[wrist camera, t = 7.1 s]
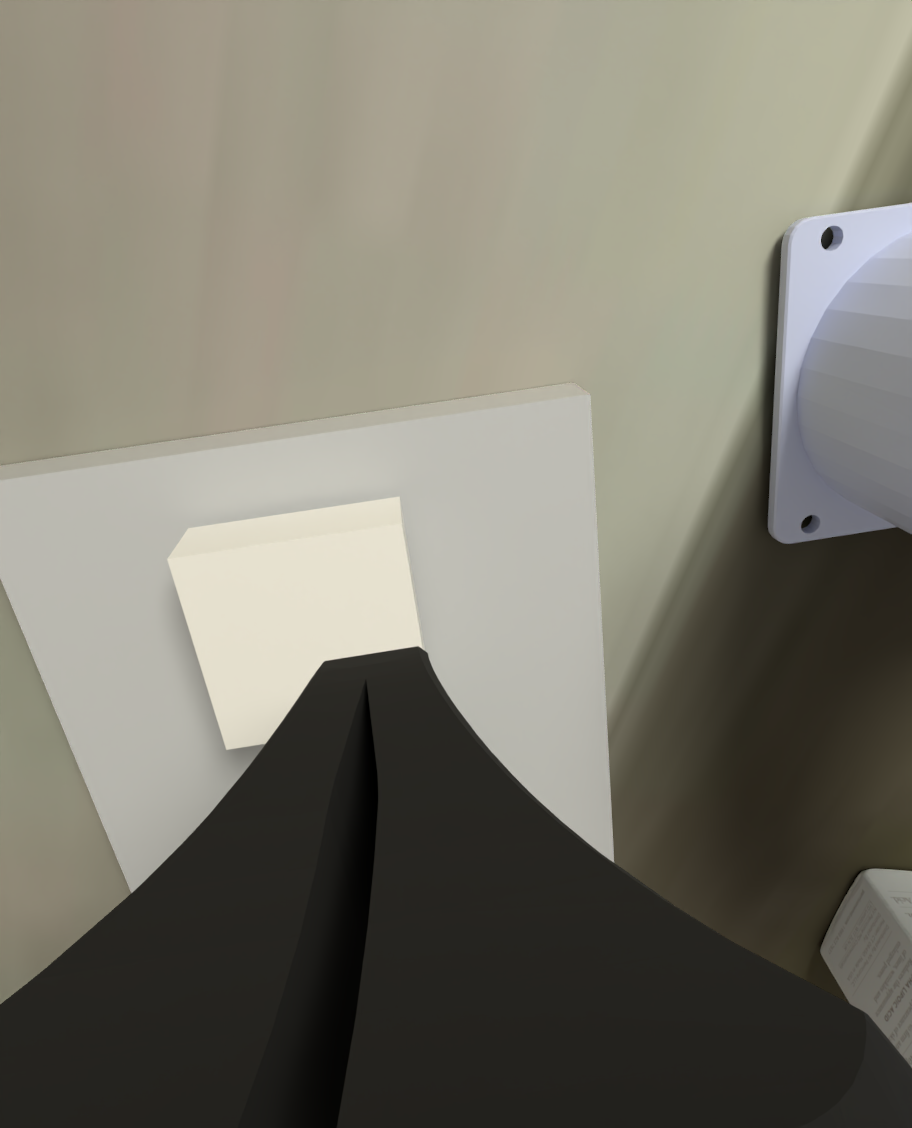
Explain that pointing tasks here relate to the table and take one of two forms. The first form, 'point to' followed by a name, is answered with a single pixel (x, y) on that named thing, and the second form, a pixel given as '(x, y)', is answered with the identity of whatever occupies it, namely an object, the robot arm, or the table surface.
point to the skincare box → (876, 951)
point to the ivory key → (291, 604)
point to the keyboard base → (305, 482)
